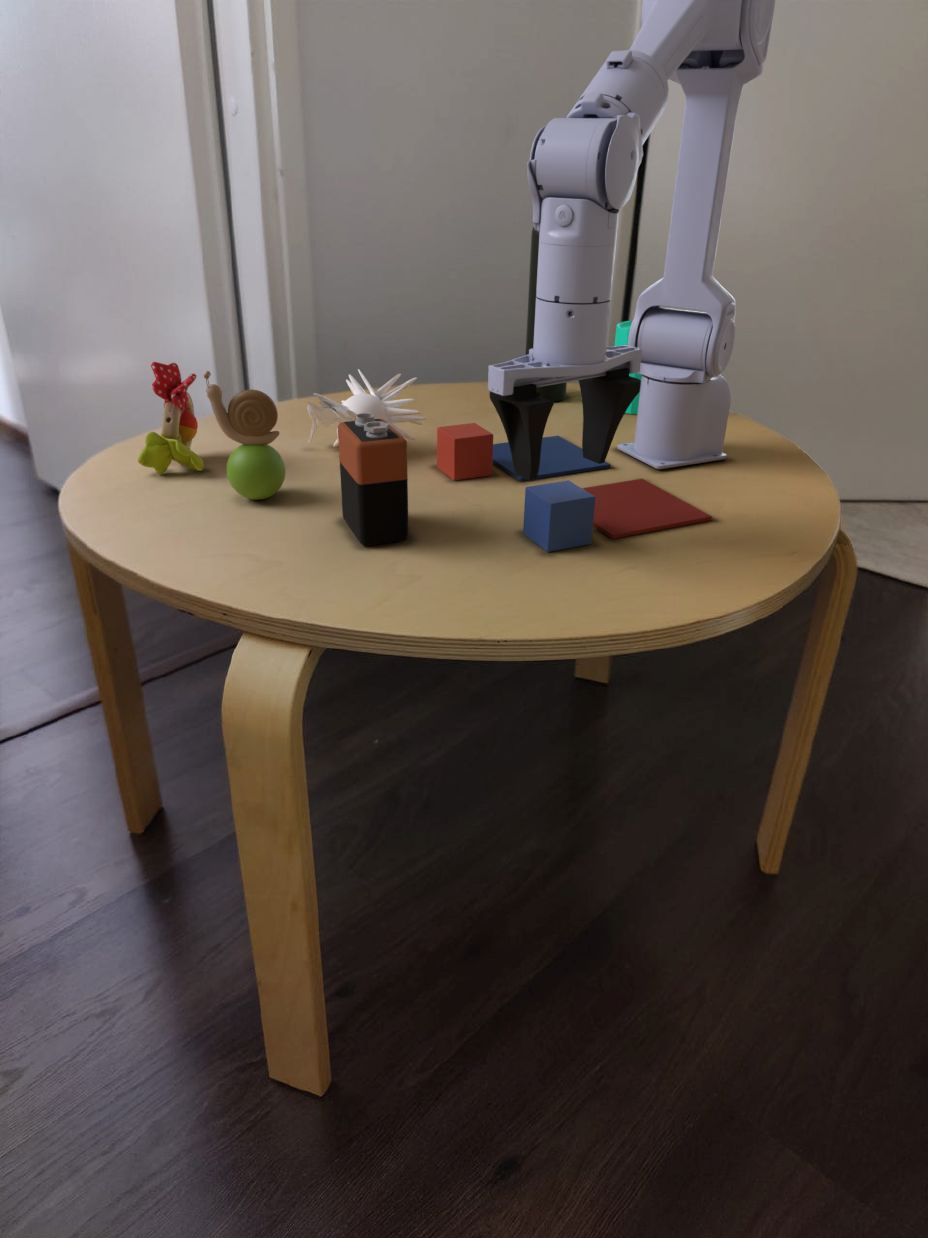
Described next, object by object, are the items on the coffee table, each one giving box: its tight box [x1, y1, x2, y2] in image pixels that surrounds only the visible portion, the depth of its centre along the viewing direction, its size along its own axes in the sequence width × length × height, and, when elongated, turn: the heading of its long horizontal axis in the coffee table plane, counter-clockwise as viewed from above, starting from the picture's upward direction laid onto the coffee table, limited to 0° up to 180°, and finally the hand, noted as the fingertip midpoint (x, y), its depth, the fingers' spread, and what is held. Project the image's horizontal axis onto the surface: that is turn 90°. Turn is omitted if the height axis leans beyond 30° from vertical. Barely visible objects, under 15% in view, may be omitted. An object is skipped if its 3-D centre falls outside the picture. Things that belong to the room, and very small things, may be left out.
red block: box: [436, 422, 494, 481], centre depth 90 cm, size 4×4×4 cm
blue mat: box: [492, 435, 611, 482], centre depth 95 cm, size 11×11×1 cm
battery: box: [337, 413, 409, 547], centre depth 74 cm, size 4×7×10 cm, turn 21°
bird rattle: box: [137, 361, 205, 475], centre depth 89 cm, size 6×11×9 cm
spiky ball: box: [306, 368, 427, 448], centre depth 94 cm, size 11×12×8 cm
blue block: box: [522, 479, 596, 553], centre depth 75 cm, size 4×4×4 cm
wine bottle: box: [525, 226, 568, 403], centre depth 110 cm, size 6×6×30 cm
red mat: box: [581, 478, 713, 540], centre depth 82 cm, size 11×11×1 cm
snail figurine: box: [203, 370, 286, 501], centre depth 80 cm, size 5×6×12 cm
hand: (560, 468), depth 73 cm, fingers open, 7 cm apart
